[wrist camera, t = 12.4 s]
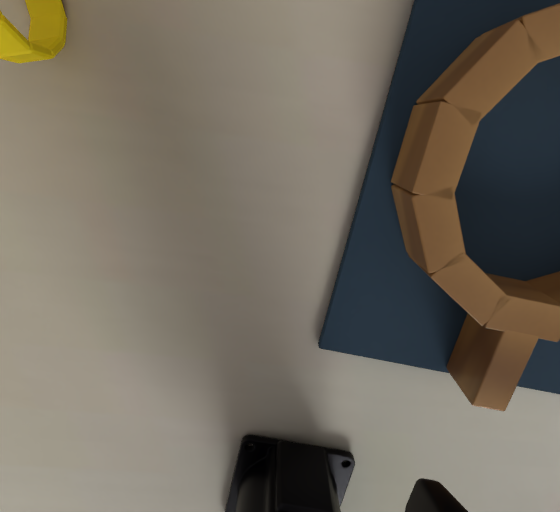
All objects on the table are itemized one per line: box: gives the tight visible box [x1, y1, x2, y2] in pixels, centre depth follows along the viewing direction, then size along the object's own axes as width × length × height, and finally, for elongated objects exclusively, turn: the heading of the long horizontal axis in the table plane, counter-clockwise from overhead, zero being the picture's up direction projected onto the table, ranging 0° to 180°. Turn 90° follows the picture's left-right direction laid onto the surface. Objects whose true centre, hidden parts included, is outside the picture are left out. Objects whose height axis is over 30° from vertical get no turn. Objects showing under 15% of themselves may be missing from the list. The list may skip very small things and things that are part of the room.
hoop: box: [391, 3, 560, 411], centre depth 17 cm, size 17×13×3 cm
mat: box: [318, 0, 560, 394], centre depth 18 cm, size 20×15×1 cm
